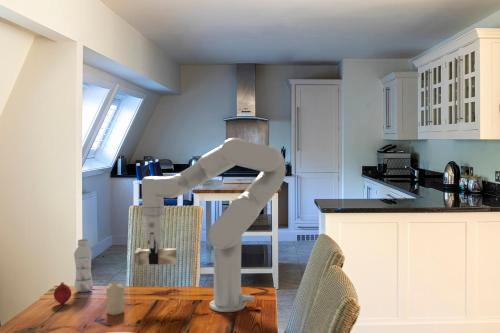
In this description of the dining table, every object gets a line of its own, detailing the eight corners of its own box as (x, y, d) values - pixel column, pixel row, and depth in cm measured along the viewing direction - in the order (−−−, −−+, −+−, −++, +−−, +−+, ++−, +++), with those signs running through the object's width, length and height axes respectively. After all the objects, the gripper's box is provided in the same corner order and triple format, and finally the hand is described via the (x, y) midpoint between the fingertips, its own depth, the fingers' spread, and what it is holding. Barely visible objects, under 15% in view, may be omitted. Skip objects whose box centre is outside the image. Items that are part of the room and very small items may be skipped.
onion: (74, 304, 172) (74, 281, 172) (58, 308, 168) (58, 285, 167) (66, 300, 176) (66, 278, 176) (51, 304, 172) (50, 282, 171)
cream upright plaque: (177, 260, 177) (177, 246, 177) (176, 265, 169) (175, 251, 169) (137, 261, 176) (137, 247, 175) (134, 267, 168) (134, 252, 167)
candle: (119, 315, 161) (118, 285, 160) (104, 314, 162) (103, 284, 161) (126, 309, 166) (126, 281, 166) (111, 308, 167) (111, 280, 167)
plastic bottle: (89, 294, 183) (89, 241, 182) (71, 294, 183) (71, 241, 182) (95, 289, 189) (94, 238, 188) (78, 289, 189) (77, 238, 188)
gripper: (161, 214, 164) (163, 268, 165) (165, 208, 180) (166, 257, 181) (139, 215, 163) (140, 269, 164) (144, 208, 179) (146, 257, 180)
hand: (154, 262), depth 172 cm, fingers closed on cream upright plaque, 3 cm apart
